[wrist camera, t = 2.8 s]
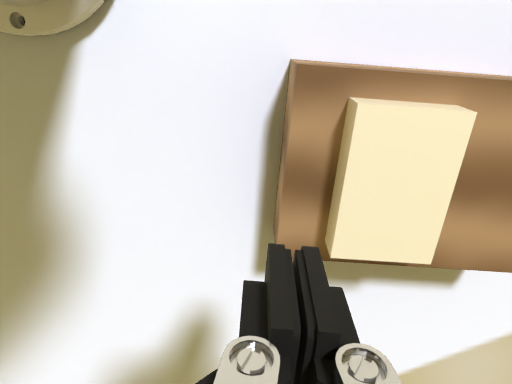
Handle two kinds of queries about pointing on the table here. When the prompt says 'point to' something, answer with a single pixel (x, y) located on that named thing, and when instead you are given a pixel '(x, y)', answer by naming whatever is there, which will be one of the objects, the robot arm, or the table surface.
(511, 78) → the brown wooden slab
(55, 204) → the table surface
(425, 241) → the block
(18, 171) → the table surface
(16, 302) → the table surface
